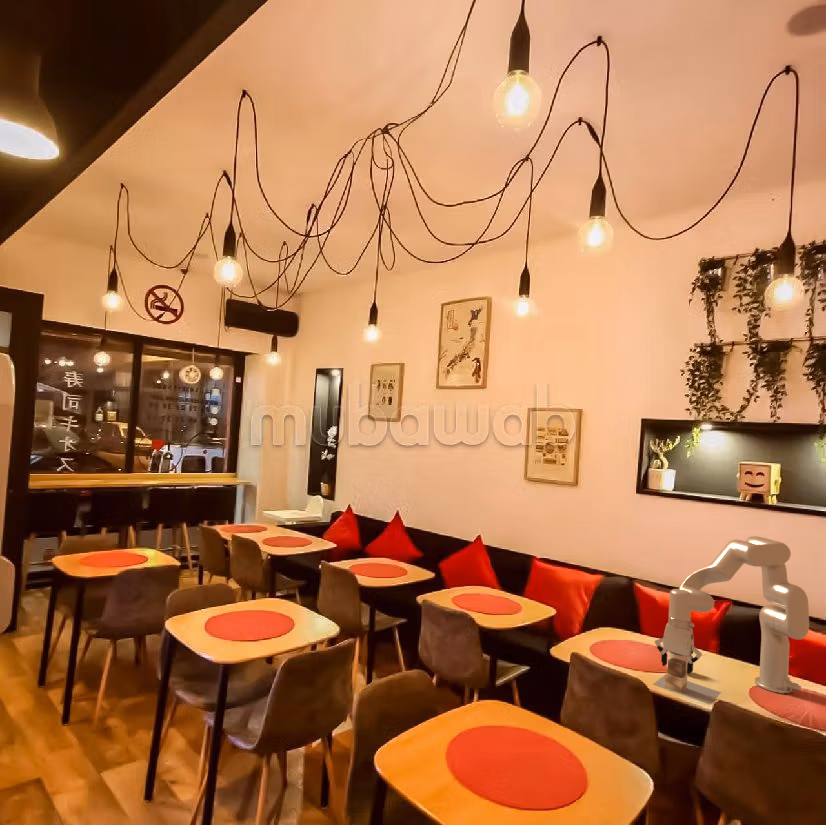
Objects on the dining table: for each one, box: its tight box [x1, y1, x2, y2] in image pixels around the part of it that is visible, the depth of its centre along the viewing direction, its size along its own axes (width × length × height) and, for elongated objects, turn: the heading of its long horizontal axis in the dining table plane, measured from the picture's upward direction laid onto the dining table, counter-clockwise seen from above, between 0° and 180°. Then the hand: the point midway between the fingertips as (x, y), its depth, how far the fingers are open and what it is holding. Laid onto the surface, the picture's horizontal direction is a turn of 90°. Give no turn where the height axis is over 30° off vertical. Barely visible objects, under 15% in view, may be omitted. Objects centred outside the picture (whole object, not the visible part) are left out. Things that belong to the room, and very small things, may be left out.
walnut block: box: [666, 657, 687, 678], centre depth 214 cm, size 5×5×5 cm
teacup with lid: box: [659, 651, 689, 675], centre depth 233 cm, size 12×9×12 cm
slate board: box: [652, 674, 722, 705], centre depth 214 cm, size 20×15×1 cm
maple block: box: [664, 672, 688, 693], centre depth 214 cm, size 6×6×5 cm
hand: (676, 668), depth 214 cm, fingers open, 8 cm apart
